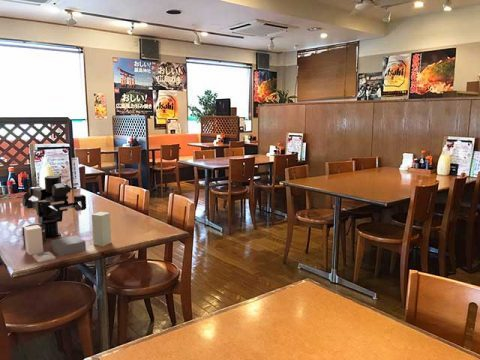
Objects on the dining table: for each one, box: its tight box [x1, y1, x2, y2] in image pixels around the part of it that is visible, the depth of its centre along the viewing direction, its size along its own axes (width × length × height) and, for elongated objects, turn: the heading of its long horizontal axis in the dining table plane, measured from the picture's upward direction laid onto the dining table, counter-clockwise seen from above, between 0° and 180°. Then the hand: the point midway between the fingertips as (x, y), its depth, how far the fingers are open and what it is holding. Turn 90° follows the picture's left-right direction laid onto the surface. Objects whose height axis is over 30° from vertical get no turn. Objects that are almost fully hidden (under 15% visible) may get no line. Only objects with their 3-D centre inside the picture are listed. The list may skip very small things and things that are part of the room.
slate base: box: [50, 235, 87, 257], centre depth 153 cm, size 10×10×4 cm
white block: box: [23, 225, 44, 256], centre depth 150 cm, size 5×5×10 cm
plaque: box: [31, 251, 56, 264], centre depth 144 cm, size 8×6×1 cm
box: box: [22, 223, 47, 245], centre depth 161 cm, size 6×6×7 cm
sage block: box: [91, 211, 112, 247], centre depth 159 cm, size 5×5×13 cm
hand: (69, 210), depth 149 cm, fingers open, 9 cm apart
